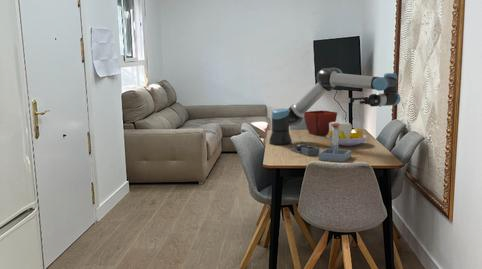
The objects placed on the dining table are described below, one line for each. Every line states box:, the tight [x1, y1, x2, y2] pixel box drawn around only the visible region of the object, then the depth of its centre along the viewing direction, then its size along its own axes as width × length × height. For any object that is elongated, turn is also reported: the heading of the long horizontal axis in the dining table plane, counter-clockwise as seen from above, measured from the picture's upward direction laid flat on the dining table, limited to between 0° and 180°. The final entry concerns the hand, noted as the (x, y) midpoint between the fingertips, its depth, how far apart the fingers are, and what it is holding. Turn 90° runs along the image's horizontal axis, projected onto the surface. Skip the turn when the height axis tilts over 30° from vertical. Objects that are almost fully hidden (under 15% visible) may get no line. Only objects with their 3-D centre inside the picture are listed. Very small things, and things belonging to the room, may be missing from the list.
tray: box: [318, 148, 352, 163], centre depth 275 cm, size 15×15×4 cm
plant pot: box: [303, 110, 338, 136], centre depth 366 cm, size 19×19×17 cm
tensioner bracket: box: [290, 143, 321, 157], centre depth 293 cm, size 20×9×4 cm, turn 23°
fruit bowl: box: [325, 128, 368, 147], centre depth 318 cm, size 28×27×11 cm
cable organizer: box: [329, 121, 353, 133], centre depth 343 cm, size 15×11×12 cm
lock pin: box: [331, 123, 340, 154], centre depth 274 cm, size 5×5×19 cm
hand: (347, 101), depth 278 cm, fingers open, 13 cm apart
